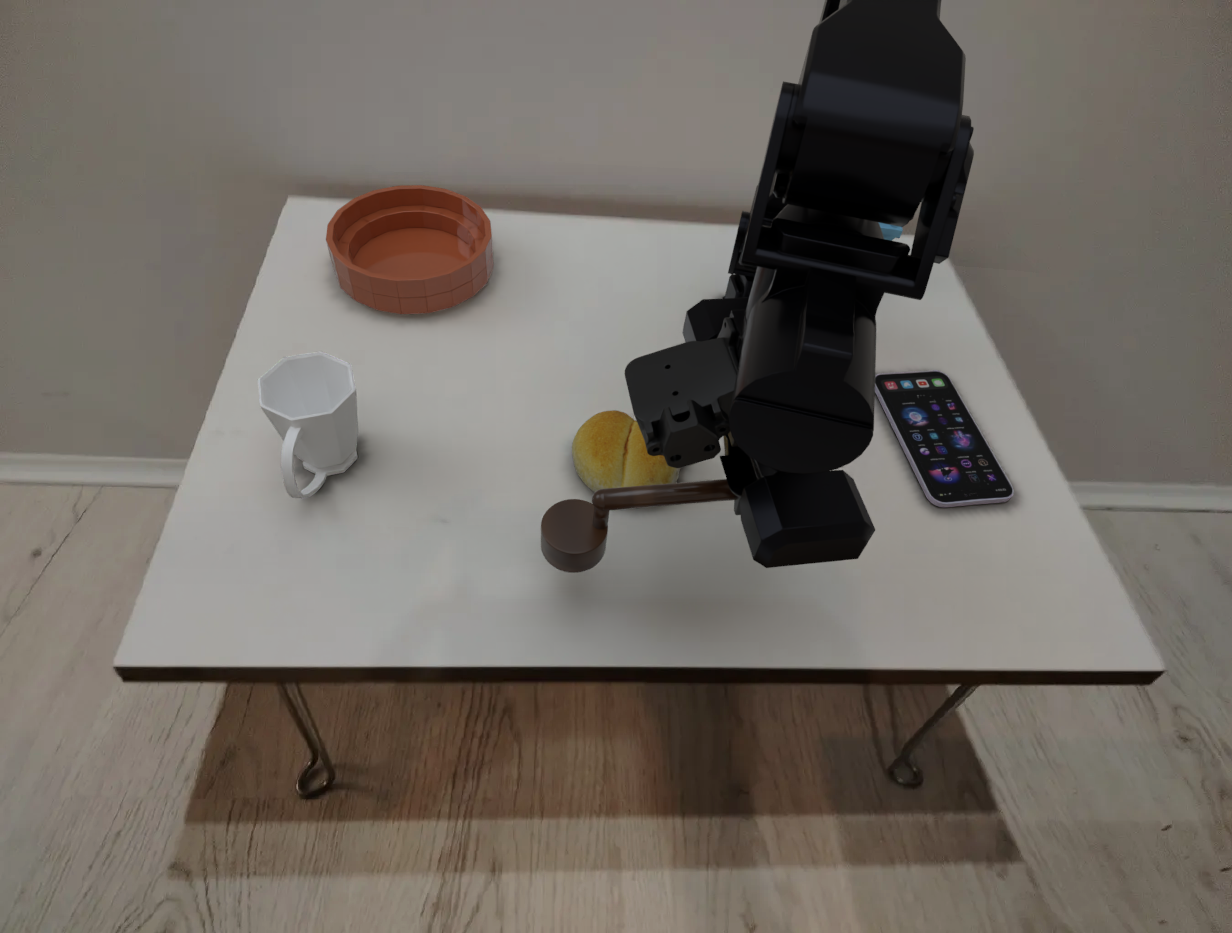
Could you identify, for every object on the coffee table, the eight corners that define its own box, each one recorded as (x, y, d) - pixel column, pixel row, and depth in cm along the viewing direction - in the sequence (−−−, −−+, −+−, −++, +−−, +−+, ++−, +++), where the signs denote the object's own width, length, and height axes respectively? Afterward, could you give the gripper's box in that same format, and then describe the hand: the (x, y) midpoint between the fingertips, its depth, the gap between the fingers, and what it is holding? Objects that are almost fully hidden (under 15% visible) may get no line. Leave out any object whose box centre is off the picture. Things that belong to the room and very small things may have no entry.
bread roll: (585, 417, 67) (588, 384, 64) (687, 442, 66) (695, 410, 63) (557, 491, 61) (558, 458, 58) (667, 519, 61) (674, 488, 57)
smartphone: (945, 369, 73) (1019, 497, 64) (942, 373, 73) (1016, 501, 64) (869, 373, 72) (934, 504, 63) (867, 378, 72) (931, 508, 63)
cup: (385, 426, 64) (368, 355, 58) (351, 526, 58) (329, 458, 52) (299, 418, 64) (274, 345, 58) (256, 517, 58) (222, 447, 51)
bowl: (488, 222, 83) (486, 183, 80) (497, 315, 74) (496, 277, 70) (340, 225, 81) (331, 186, 77) (331, 322, 71) (320, 283, 68)
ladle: (792, 500, 57) (814, 450, 52) (811, 550, 54) (835, 502, 50) (537, 521, 54) (537, 470, 49) (544, 576, 51) (544, 527, 47)
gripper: (616, 220, 44) (599, 407, 56) (686, 478, 33) (646, 643, 45) (801, 215, 46) (746, 398, 58) (929, 459, 35) (827, 623, 47)
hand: (738, 502), depth 52 cm, fingers closed on ladle
